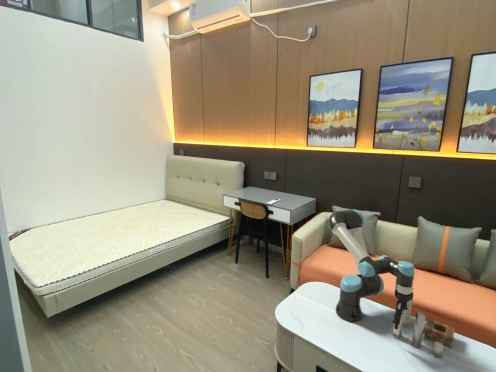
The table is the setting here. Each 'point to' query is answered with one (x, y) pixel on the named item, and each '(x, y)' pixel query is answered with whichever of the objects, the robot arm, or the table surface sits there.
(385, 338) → the table surface
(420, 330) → the pin long
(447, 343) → the hole block
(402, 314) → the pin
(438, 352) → the pin short
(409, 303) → the travel mug
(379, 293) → the robot arm
